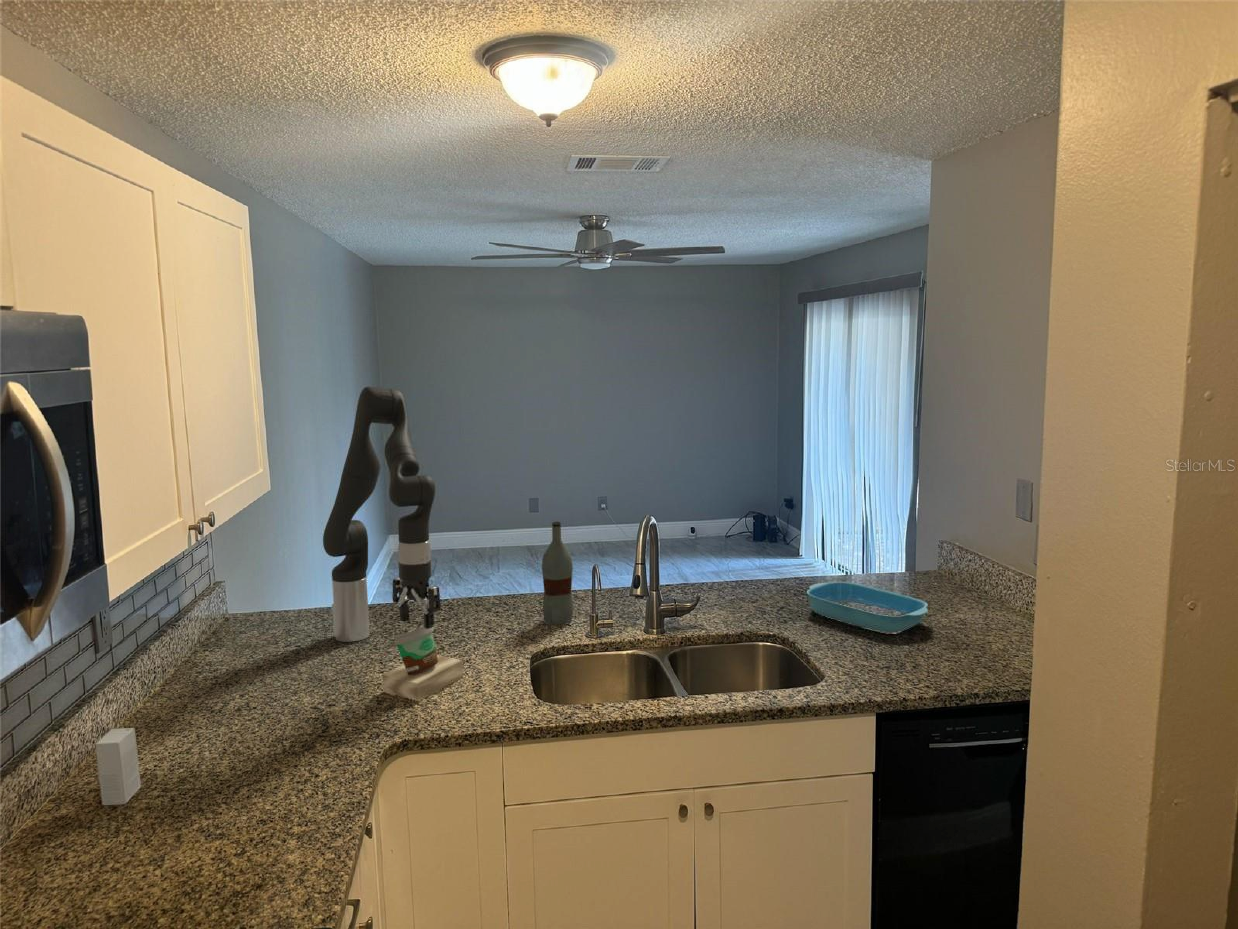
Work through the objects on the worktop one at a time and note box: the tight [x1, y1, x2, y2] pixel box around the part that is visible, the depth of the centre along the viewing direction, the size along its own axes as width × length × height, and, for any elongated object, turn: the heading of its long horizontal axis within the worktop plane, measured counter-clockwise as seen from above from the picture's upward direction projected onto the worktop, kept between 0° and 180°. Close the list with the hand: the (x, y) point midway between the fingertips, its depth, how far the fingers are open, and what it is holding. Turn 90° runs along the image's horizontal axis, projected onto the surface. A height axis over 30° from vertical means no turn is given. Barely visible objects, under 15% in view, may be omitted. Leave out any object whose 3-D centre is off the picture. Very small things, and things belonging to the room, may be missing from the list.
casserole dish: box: [806, 581, 929, 632], centre depth 249 cm, size 37×22×7 cm, turn 42°
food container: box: [393, 619, 438, 675], centre depth 201 cm, size 12×6×10 cm, turn 163°
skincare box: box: [94, 727, 142, 806], centre depth 153 cm, size 6×4×12 cm
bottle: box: [541, 521, 574, 626], centre depth 247 cm, size 9×9×30 cm
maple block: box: [381, 654, 464, 702], centre depth 203 cm, size 11×16×5 cm
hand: (416, 624), depth 201 cm, fingers open, 8 cm apart
